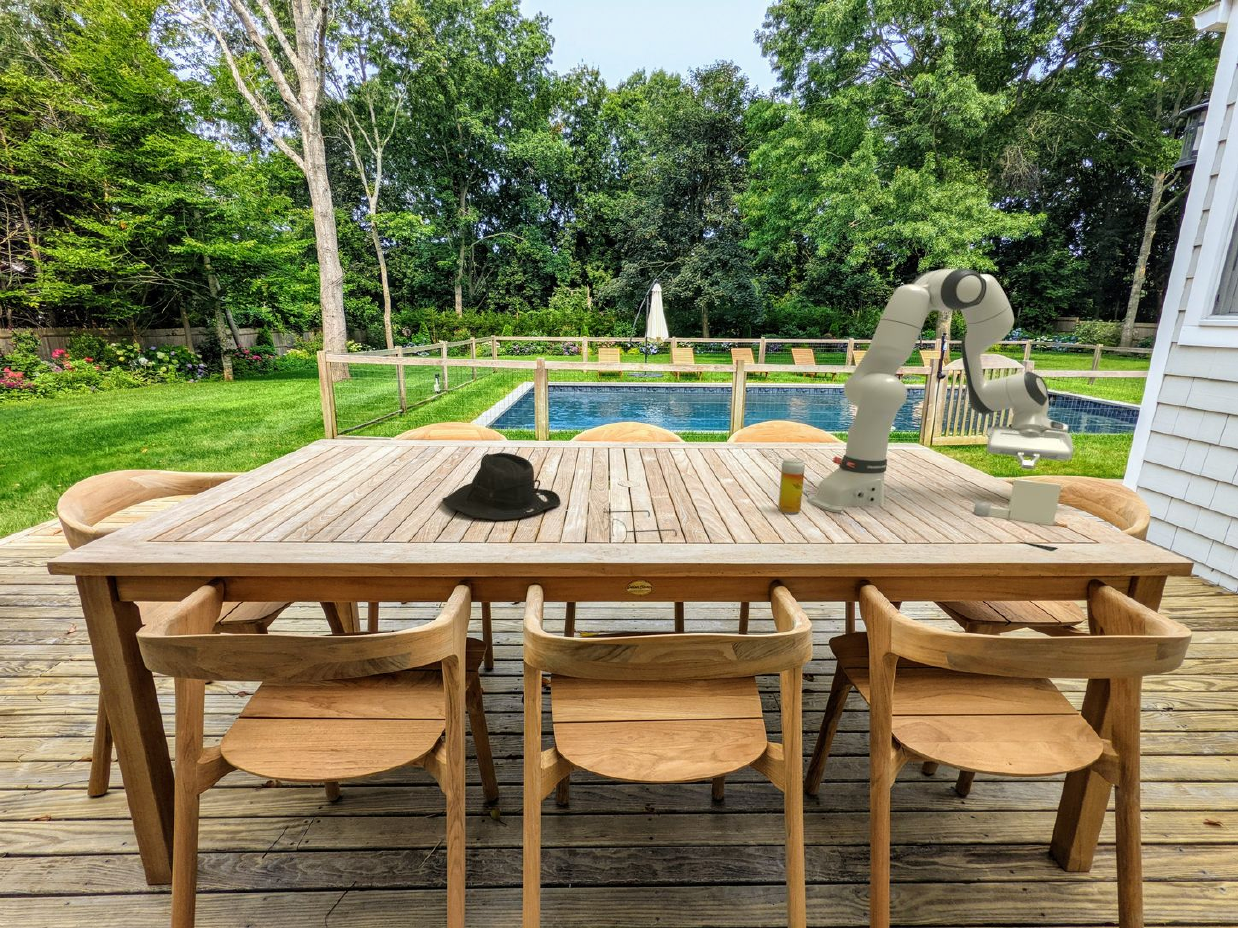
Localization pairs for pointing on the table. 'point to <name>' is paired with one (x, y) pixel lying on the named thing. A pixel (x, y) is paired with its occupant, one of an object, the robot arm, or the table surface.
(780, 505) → the beer glass
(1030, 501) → the peg
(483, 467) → the hat
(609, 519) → the eyeglasses
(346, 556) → the table surface
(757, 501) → the table surface
